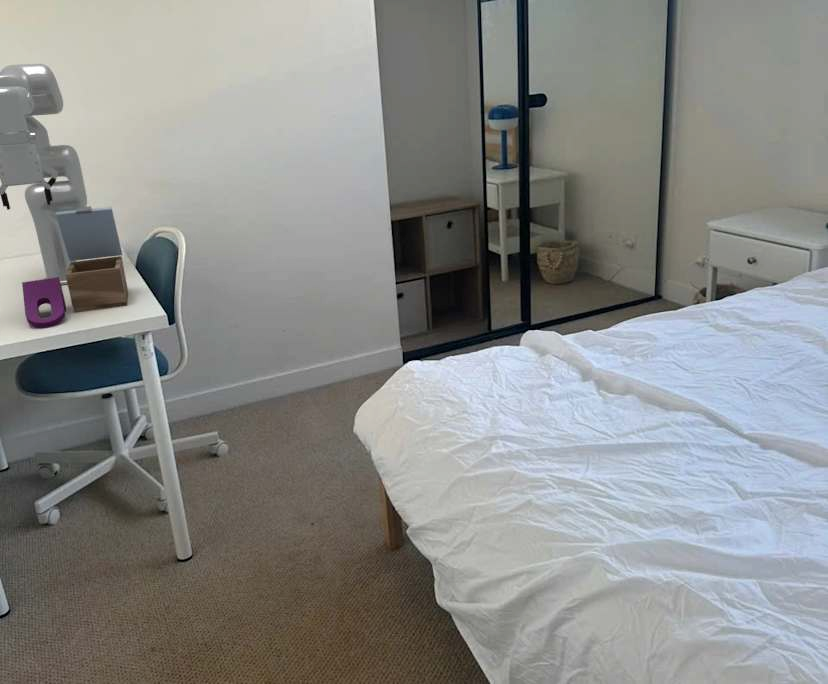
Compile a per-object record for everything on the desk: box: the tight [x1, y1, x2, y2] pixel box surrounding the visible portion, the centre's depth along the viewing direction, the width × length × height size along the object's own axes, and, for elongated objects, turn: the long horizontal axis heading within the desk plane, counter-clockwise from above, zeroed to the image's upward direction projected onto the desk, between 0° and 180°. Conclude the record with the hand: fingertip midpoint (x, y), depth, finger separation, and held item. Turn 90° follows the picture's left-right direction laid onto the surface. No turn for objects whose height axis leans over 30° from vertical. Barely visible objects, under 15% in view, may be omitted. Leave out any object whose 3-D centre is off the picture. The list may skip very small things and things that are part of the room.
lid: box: [56, 205, 123, 262], centre depth 213 cm, size 17×15×2 cm
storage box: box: [66, 255, 129, 314], centre depth 214 cm, size 16×14×11 cm
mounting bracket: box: [21, 277, 67, 329], centre depth 203 cm, size 10×8×18 cm
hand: (29, 206), depth 194 cm, fingers open, 9 cm apart
